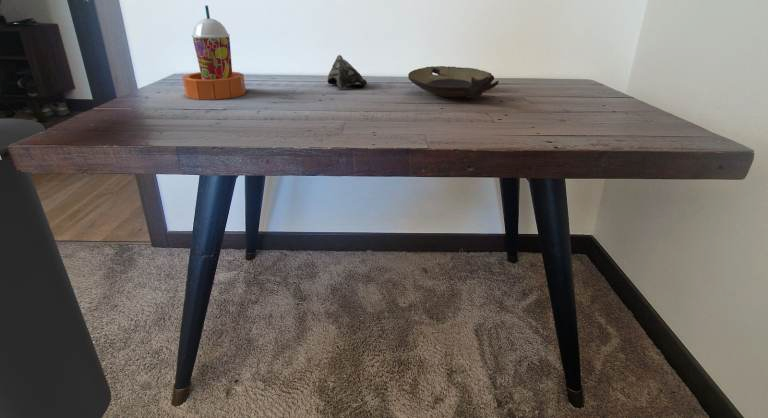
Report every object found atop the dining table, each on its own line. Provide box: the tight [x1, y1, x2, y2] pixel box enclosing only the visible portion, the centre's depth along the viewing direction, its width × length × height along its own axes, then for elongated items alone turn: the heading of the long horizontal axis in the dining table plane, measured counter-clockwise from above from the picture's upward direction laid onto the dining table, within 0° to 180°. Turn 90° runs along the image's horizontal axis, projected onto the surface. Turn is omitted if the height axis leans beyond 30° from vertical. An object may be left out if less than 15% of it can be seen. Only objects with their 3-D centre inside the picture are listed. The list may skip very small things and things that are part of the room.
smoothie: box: [191, 5, 233, 80], centre depth 105 cm, size 8×8×20 cm
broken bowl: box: [407, 65, 500, 99], centre depth 108 cm, size 22×30×8 cm
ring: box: [181, 71, 247, 101], centre depth 108 cm, size 14×14×4 cm
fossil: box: [326, 54, 368, 90], centre depth 118 cm, size 11×9×10 cm
